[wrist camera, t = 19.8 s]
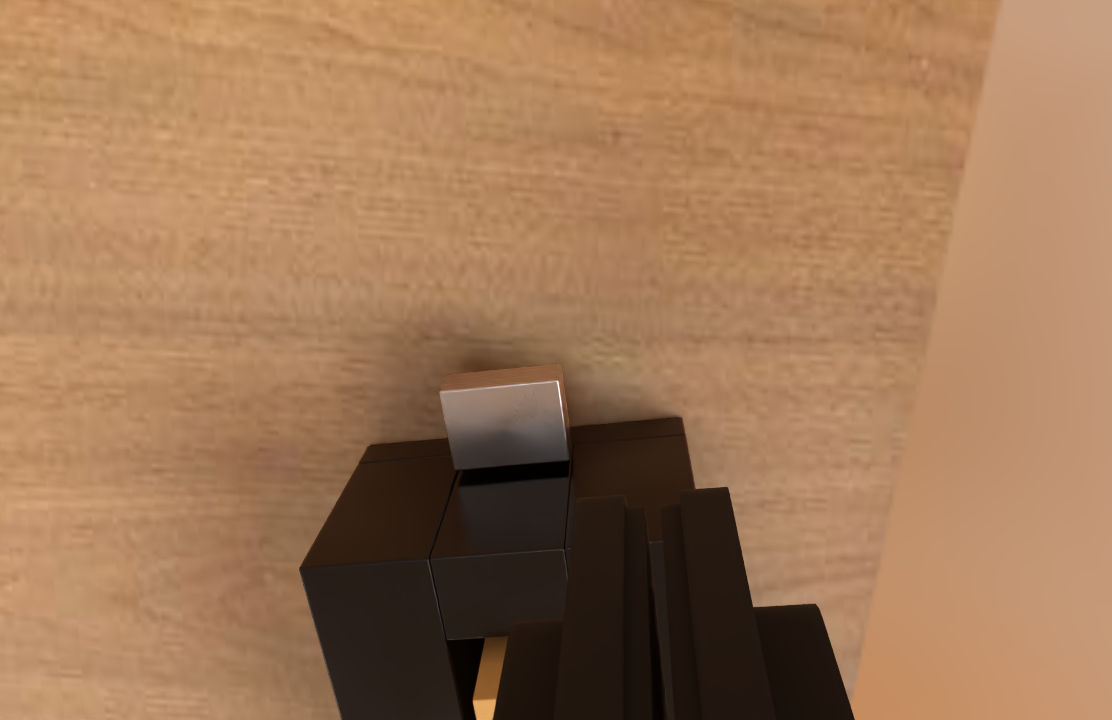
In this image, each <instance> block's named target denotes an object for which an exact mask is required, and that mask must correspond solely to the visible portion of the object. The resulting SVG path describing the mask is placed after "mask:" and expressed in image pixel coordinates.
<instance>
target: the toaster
mask: <svg viewBox="0 0 1112 720" xmlns="http://www.w3.org/2000/svg"><path fill="white" fill-rule="evenodd" d="M570 432H571V439H572V442H571V452H570V460H569V461H560V462H548V463H537V464H525V465H514V466H502V467H491V468H479V469H468V470H454V467H453V462H452V457H451V451H450V446H449V441H448V438H447V439H436V440H425V441H414V442H403V443H392V444H381V445H370V446H368V447H367V449H366V451H365V453H364V454H363V456H362V458H361V460H360V461H359V464H358V465H357V467H356V469H355V470H354V472H353V474H352V476H351V478H350V479H349V481H348V483H347V485H346V486H345V488H344V490H343V492H342V493H341V495H340V497H339V499H338V500H337V502H336V504H335V506H334V508H333V509H332V511H331V513H330V515H329V516H328V518H327V520H326V522H325V523H324V525H323V527H322V529H321V530H320V532H319V534H318V536H317V538H316V539H315V541H314V543H313V545H312V546H311V548H310V550H309V552H308V553H307V555H306V557H305V559H304V560H303V562H302V564H301V566H300V568H299V571H300V575H301V578H302V582H303V585H304V589H305V592H306V596H307V599H308V603H309V607H310V610H311V614H312V617H313V621H314V624H315V628H316V631H317V635H318V639H319V642H320V646H321V649H322V653H323V656H324V660H325V663H326V667H327V671H328V674H329V678H330V681H331V685H332V688H333V692H334V695H335V699H336V703H337V706H338V710H339V713H340V717H341V720H477V719H476V715H475V710H474V705H473V696H474V691H475V687H476V682H477V677H478V672H479V667H480V662H481V657H482V652H483V647H484V642H485V638H489V637H504V636H508V635H509V631H510V627H511V625H512V624H513V622H514V621H527V620H545V619H562V618H564V611H565V601H566V591H567V581H568V571H569V561H570V552H571V542H572V532H573V522H574V512H575V503H576V499H577V498H586V497H599V496H613V495H625V497H626V503H627V507H640V506H645V509H646V517H647V526H648V535H649V544H650V553H651V562H652V571H653V580H654V590H655V599H656V608H657V617H658V626H659V635H660V644H661V653H662V662H663V671H664V680H665V690H666V700H667V711H668V720H675V717H674V702H673V687H672V672H671V657H670V642H669V627H668V612H667V596H666V581H665V566H664V551H663V536H662V521H661V505H668V504H680V500H679V490H693V489H695V483H694V478H693V472H692V467H691V461H690V455H689V450H688V444H687V439H686V434H685V428H684V423H683V419H682V418H681V417H678V418H667V419H656V420H645V421H634V422H623V423H612V424H601V425H590V426H579V427H570Z"/></svg>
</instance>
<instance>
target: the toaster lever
mask: <svg viewBox="0 0 1112 720" xmlns="http://www.w3.org/2000/svg"><path fill="white" fill-rule="evenodd" d="M439 395H440V400H441V405H442V410H443V415H444V421H445V426H446V431H447V436H448V441H449V446H450V451H451V457H452V462H453V467H454V470H468V469H479V468H491V467H502V466H514V465H525V464H537V463H548V462H560V461H569V460H570V452H571V442H572V439H571V432H570V425H569V417H568V410H567V403H566V396H565V388H564V381H563V374H562V366H561V364H550V365H539V366H529V367H519V368H509V369H499V370H489V371H479V372H469V373H458V374H448V375H447V376H446V378H445V380H444V382H443V384H442V386H441V389H440V391H439Z"/></svg>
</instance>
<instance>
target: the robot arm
mask: <svg viewBox="0 0 1112 720" xmlns="http://www.w3.org/2000/svg"><path fill="white" fill-rule="evenodd" d="M679 500H680V504H668V505H661V521H662V536H663V551H664V566H665V581H666V596H667V612H668V627H669V642H670V657H671V672H672V687H673V702H674V717H675V720H855V719H854V716H853V713H852V709H851V706H850V703H849V700H848V697H847V694H846V690H845V687H844V684H843V681H842V678H841V675H840V671H839V668H838V665H837V662H836V659H835V656H834V652H833V649H832V646H831V643H830V640H829V637H828V633H827V630H826V627H825V624H824V621H823V618H822V615H821V612H820V610H819V608H818V606H817V605H816V604H803V605H786V606H769V607H753V604H752V600H751V595H750V590H749V585H748V580H747V575H746V571H745V566H744V561H743V556H742V551H741V546H740V542H739V537H738V532H737V527H736V522H735V517H734V513H733V508H732V503H731V498H730V493H729V489H728V487H720V488H706V489H693V490H679ZM493 720H668V711H667V700H666V690H665V680H664V671H663V662H662V653H661V644H660V635H659V626H658V617H657V608H656V599H655V590H654V580H653V571H652V562H651V553H650V544H649V535H648V526H647V517H646V509H645V506H640V507H627V503H626V497H625V495H613V496H599V497H586V498H577V499H576V503H575V512H574V522H573V532H572V542H571V552H570V561H569V571H568V581H567V591H566V601H565V611H564V618H562V619H545V620H527V621H514V622H513V624H512V625H511V627H510V631H509V635H508V640H507V645H506V650H505V656H504V661H503V666H502V672H501V677H500V683H499V688H498V693H497V699H496V704H495V709H494V715H493Z"/></svg>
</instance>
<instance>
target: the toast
mask: <svg viewBox="0 0 1112 720" xmlns="http://www.w3.org/2000/svg"><path fill="white" fill-rule="evenodd" d="M507 640H508V636H504V637H489V638H485V642H484V647H483V652H482V657H481V662H480V667H479V672H478V677H477V682H476V687H475V691H474V696H473V705H474V710H475V715H476V719H477V720H493V715H494V709H495V704H496V699H497V693H498V688H499V683H500V677H501V672H502V666H503V661H504V656H505V650H506V645H507Z"/></svg>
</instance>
